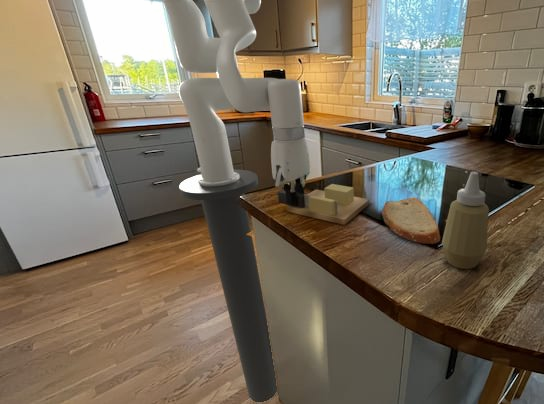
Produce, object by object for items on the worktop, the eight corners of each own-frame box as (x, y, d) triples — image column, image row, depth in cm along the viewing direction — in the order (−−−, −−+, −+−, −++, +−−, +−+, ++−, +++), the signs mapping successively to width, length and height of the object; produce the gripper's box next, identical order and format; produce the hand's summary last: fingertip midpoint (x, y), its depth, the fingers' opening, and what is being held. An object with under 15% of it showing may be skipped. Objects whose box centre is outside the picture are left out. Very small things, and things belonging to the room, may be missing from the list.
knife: (278, 202, 81) (277, 190, 80) (284, 199, 83) (283, 188, 82) (335, 215, 74) (334, 202, 72) (340, 211, 76) (339, 199, 74)
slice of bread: (434, 248, 62) (436, 232, 61) (361, 227, 71) (361, 213, 69) (458, 216, 76) (460, 202, 75) (394, 201, 85) (395, 189, 83)
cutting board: (286, 211, 80) (285, 206, 79) (316, 193, 91) (316, 189, 91) (344, 225, 72) (344, 219, 72) (369, 204, 84) (369, 199, 83)
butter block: (325, 201, 82) (324, 188, 81) (332, 196, 85) (332, 183, 84) (347, 205, 79) (346, 192, 78) (354, 200, 82) (353, 187, 81)
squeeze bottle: (441, 247, 63) (450, 164, 55) (482, 253, 60) (497, 168, 53) (438, 269, 56) (449, 178, 48) (484, 277, 53) (502, 182, 46)
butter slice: (309, 210, 76) (308, 197, 75) (312, 208, 78) (311, 195, 76) (332, 216, 73) (331, 202, 72) (335, 213, 75) (335, 199, 73)
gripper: (297, 127, 81) (303, 190, 88) (253, 138, 67) (264, 211, 75) (320, 129, 77) (324, 194, 85) (278, 141, 64) (287, 217, 72)
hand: (296, 202), depth 80 cm, fingers closed on knife, 2 cm apart
